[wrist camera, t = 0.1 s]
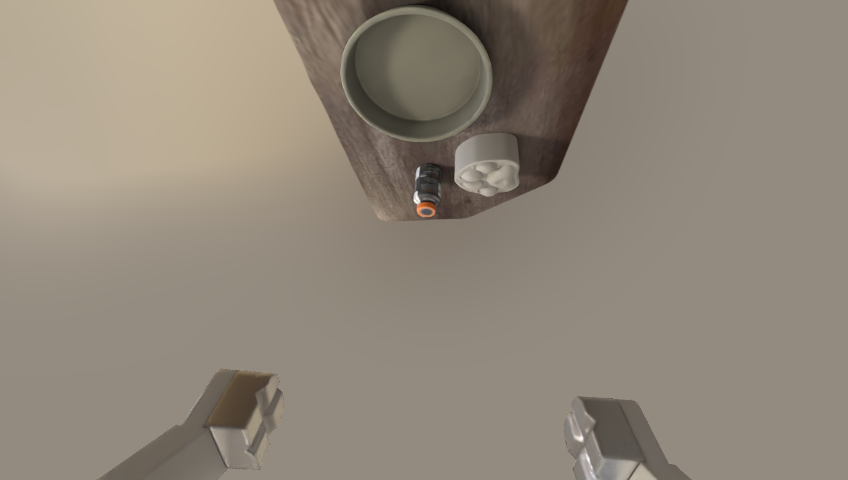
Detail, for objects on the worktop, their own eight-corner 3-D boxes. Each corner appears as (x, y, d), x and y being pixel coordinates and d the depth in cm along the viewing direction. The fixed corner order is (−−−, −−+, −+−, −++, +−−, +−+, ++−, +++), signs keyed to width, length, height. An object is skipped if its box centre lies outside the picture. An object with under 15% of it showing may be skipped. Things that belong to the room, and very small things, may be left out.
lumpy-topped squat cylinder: (517, 165, 80) (519, 197, 76) (458, 170, 83) (457, 201, 79) (517, 130, 72) (520, 163, 67) (451, 137, 74) (450, 170, 70)
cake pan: (456, 140, 75) (455, 156, 73) (336, 103, 69) (332, 119, 67) (521, 28, 55) (523, 46, 52) (359, -39, 48) (353, -21, 46)
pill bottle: (411, 171, 85) (406, 211, 79) (428, 159, 81) (424, 200, 75) (430, 183, 88) (427, 223, 82) (447, 172, 84) (445, 212, 78)
